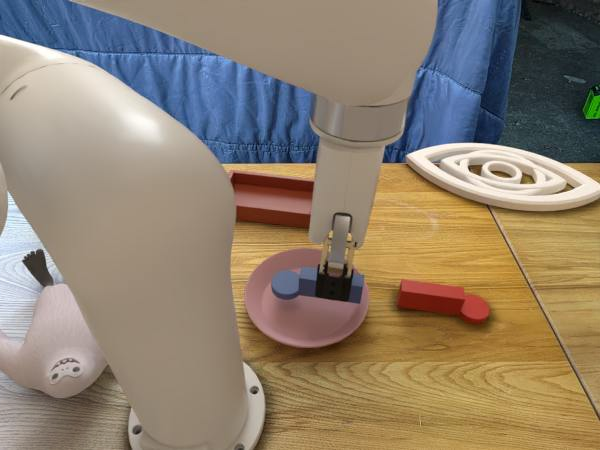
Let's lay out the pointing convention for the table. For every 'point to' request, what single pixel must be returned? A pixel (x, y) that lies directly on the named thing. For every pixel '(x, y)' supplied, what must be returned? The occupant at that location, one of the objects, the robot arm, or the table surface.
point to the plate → (300, 305)
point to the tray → (272, 198)
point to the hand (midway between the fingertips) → (337, 261)
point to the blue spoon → (308, 284)
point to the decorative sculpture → (504, 190)
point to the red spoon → (442, 300)
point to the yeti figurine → (52, 341)
